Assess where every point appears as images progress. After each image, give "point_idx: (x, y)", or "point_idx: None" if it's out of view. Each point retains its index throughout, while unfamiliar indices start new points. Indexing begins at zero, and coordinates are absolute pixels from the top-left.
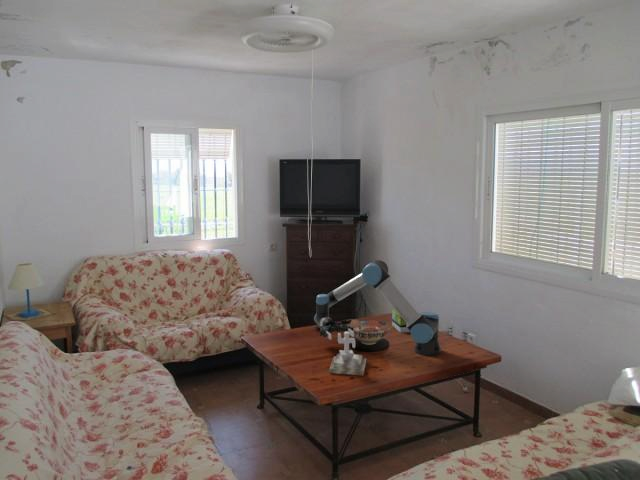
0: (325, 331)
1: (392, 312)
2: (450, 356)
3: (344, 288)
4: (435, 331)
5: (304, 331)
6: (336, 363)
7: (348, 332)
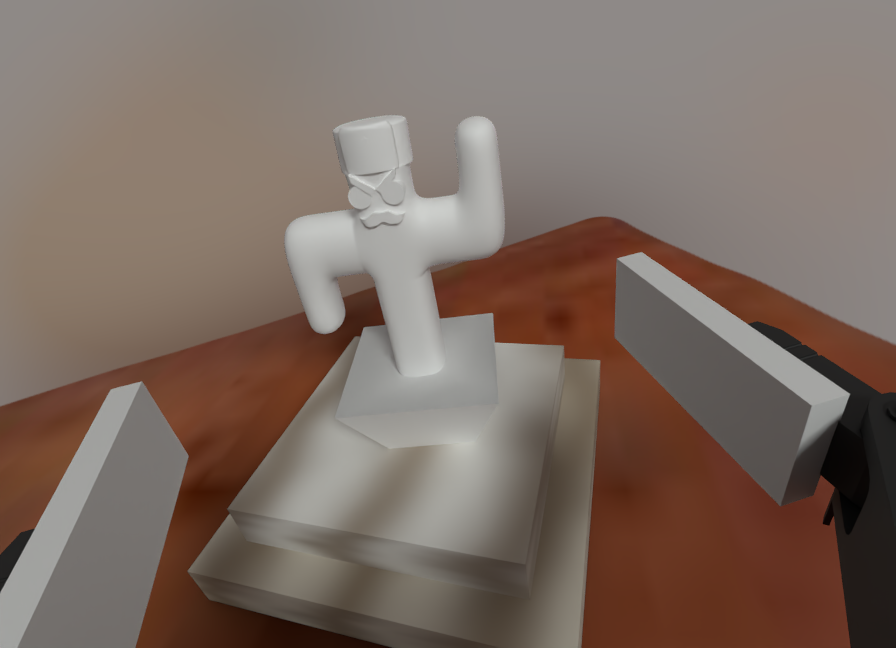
0: (871, 410)
1: None
2: None
3: None
4: None
5: None
6: (538, 347)
7: (345, 124)
